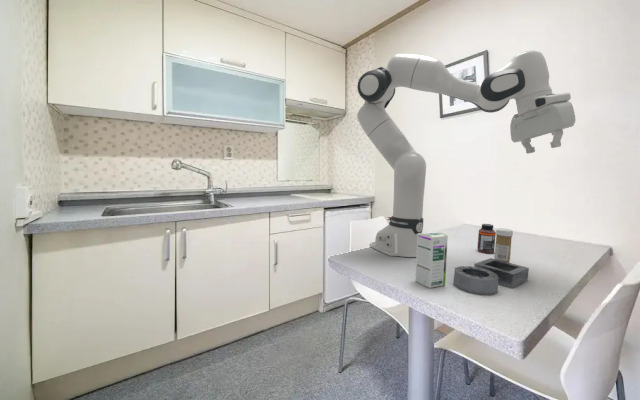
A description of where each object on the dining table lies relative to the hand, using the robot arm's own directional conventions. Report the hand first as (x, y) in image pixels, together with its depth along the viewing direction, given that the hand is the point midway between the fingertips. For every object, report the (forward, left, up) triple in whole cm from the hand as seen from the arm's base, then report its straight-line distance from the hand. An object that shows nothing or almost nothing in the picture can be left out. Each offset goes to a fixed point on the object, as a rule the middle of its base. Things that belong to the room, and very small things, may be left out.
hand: (542, 150), depth 84 cm
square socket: (-3, -13, -39) cm, 41 cm away
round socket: (-4, -26, -39) cm, 47 cm away
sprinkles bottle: (-7, -3, -39) cm, 40 cm away
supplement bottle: (-20, +14, -39) cm, 46 cm away
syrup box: (-12, -35, -39) cm, 54 cm away
